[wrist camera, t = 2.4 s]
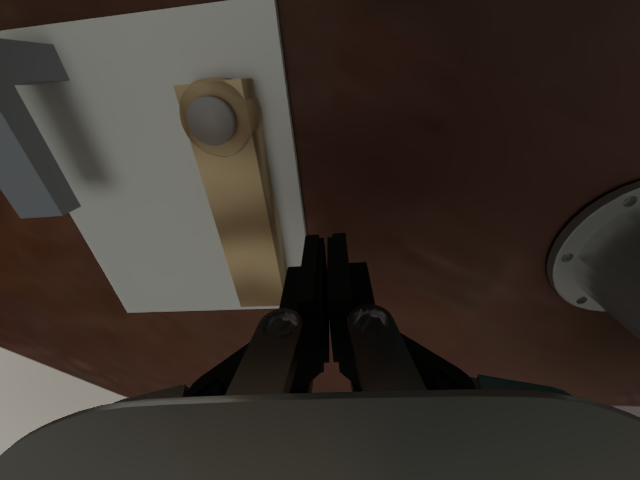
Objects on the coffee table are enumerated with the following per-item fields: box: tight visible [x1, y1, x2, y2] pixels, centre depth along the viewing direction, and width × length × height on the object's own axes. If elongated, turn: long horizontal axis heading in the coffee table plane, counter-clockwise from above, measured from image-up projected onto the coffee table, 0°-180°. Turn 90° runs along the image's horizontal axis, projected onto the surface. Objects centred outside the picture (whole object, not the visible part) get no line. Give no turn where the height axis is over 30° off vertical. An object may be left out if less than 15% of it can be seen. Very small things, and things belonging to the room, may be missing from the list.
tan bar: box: [173, 78, 287, 307], centre depth 21 cm, size 17×4×4 cm, turn 5°
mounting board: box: [0, 0, 307, 313], centre depth 21 cm, size 20×24×6 cm
